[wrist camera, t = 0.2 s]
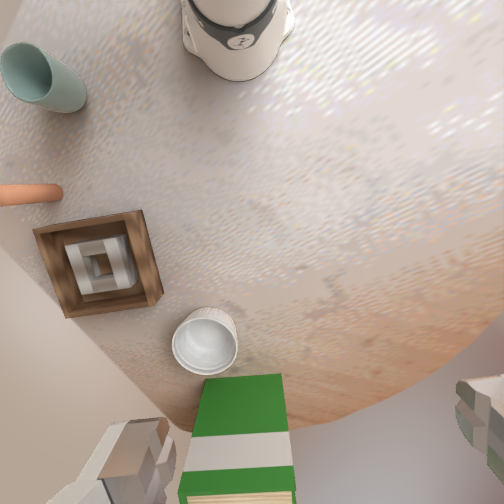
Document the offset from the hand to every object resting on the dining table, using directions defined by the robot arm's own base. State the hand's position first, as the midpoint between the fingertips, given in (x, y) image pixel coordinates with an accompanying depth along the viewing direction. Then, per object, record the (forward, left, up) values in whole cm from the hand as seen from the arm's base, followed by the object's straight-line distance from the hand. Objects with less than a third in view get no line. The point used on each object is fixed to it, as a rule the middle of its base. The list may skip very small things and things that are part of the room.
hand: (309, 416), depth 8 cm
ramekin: (+23, -16, -48) cm, 56 cm away
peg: (-11, -40, -48) cm, 63 cm away
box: (+4, -33, -48) cm, 58 cm away
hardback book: (+40, -11, -48) cm, 64 cm away
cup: (-27, -31, -48) cm, 63 cm away
